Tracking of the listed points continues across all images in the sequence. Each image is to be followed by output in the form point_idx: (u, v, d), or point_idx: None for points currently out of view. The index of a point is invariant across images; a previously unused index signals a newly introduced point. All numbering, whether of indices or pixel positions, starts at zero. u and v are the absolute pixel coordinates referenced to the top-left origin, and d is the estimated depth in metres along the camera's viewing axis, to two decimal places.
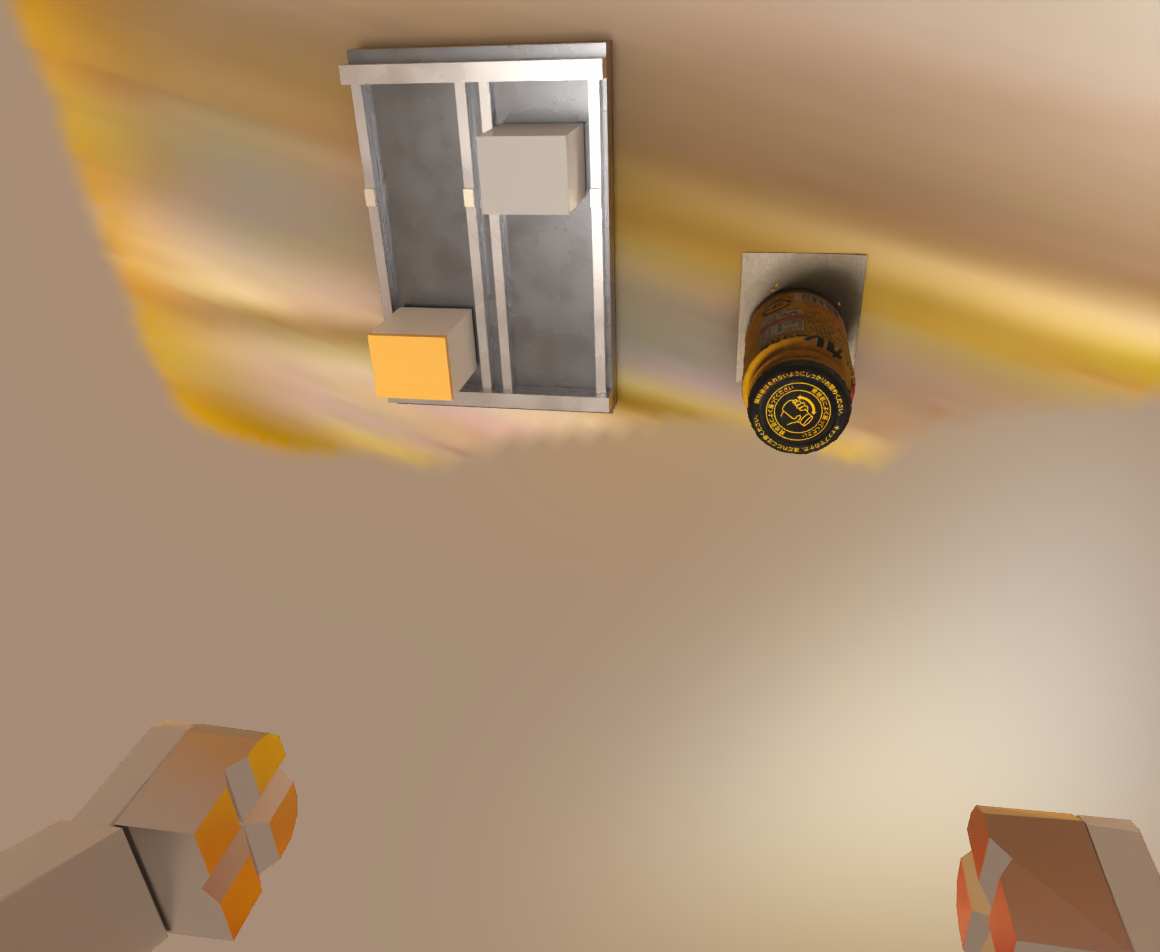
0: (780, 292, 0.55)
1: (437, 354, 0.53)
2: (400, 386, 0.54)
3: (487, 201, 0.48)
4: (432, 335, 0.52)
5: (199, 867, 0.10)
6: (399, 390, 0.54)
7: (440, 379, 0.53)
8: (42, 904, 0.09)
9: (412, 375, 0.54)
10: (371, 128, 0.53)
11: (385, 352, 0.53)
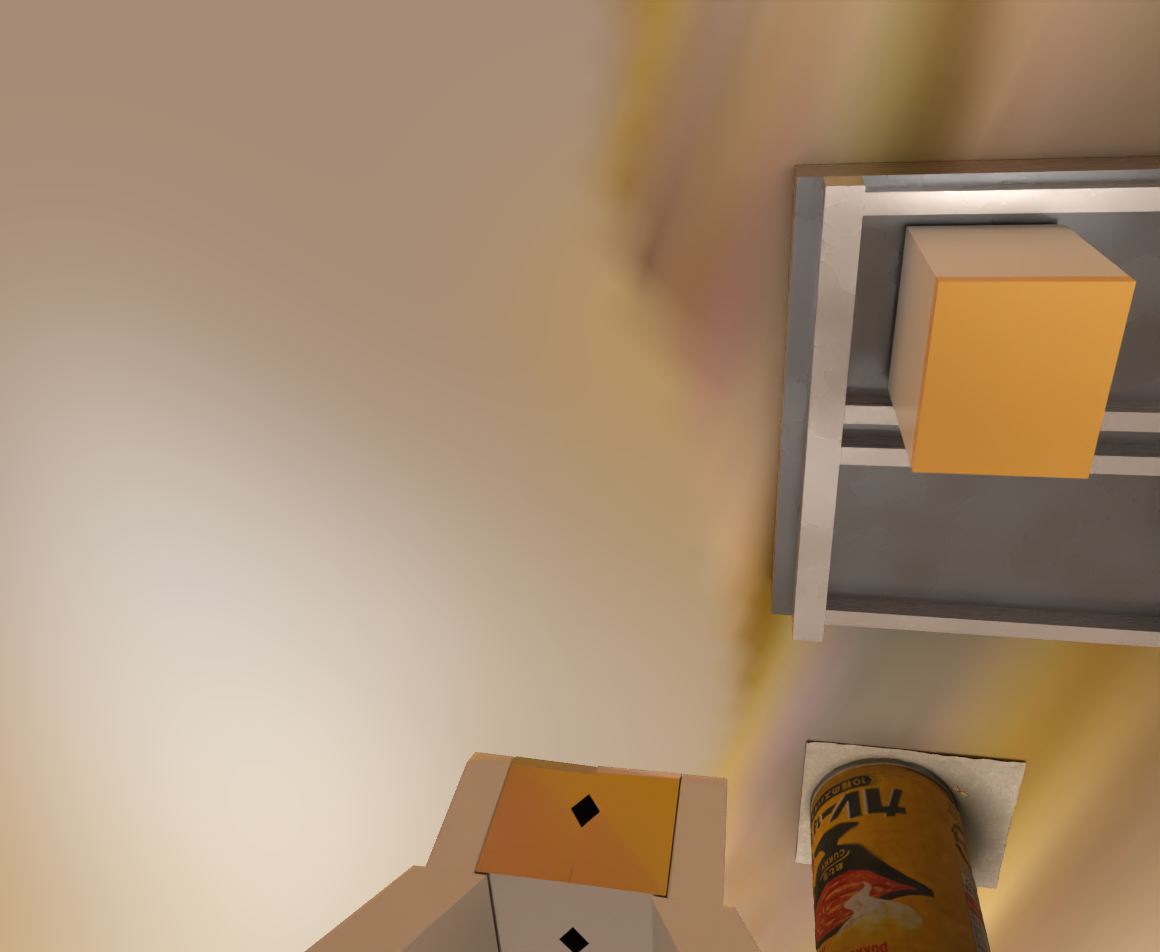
0: (953, 801, 0.37)
1: (1044, 456, 0.21)
2: (965, 351, 0.20)
3: None
4: None
5: (561, 918, 0.09)
6: (953, 346, 0.20)
7: (974, 453, 0.22)
8: None
9: (994, 387, 0.21)
10: None
11: (1073, 324, 0.20)
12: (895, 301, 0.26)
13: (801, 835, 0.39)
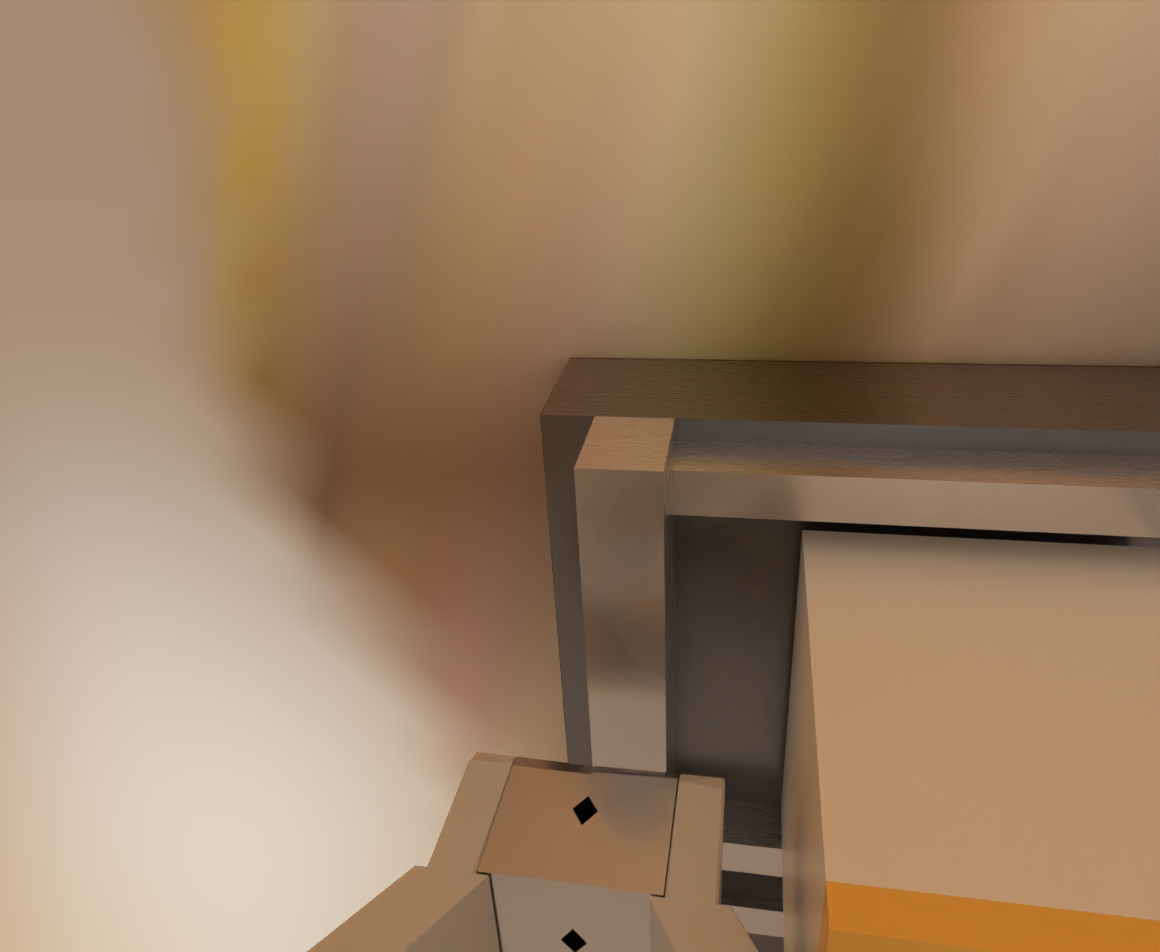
0: None
1: None
2: None
3: None
4: None
5: (563, 918, 0.09)
6: None
7: None
8: None
9: None
10: None
11: None
12: (768, 652, 0.12)
13: None
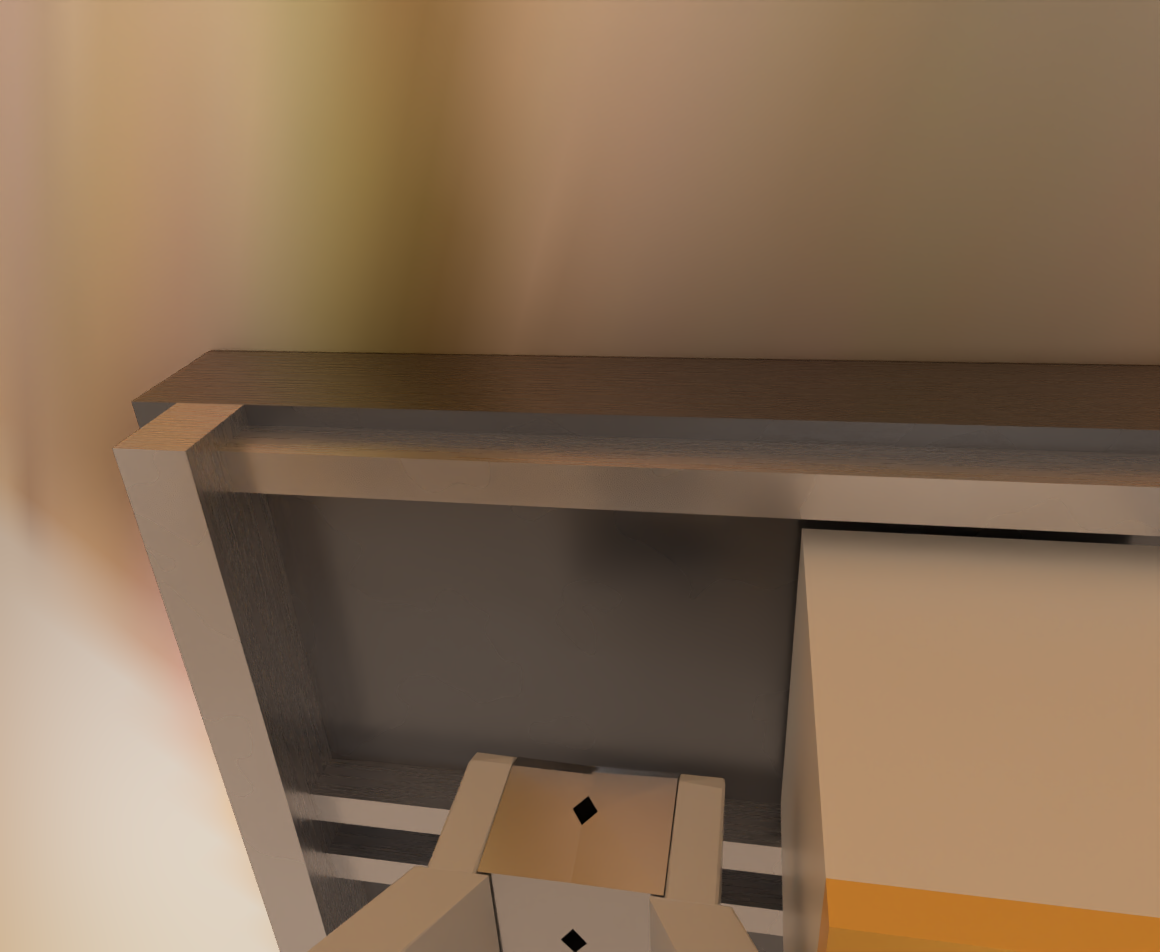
0: None
1: None
2: None
3: None
4: None
5: (563, 917, 0.09)
6: None
7: None
8: None
9: None
10: None
11: None
12: (375, 621, 0.13)
13: None
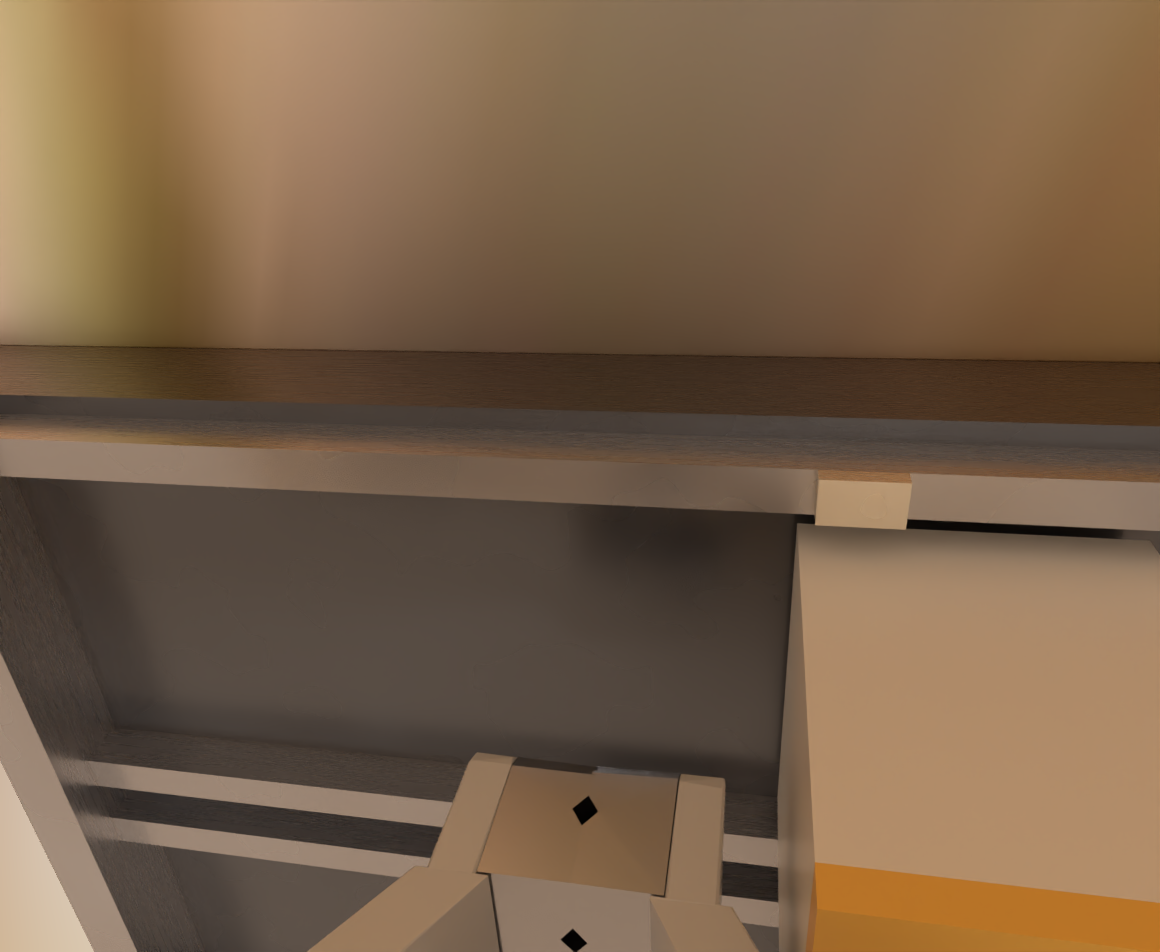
0: None
1: None
2: None
3: None
4: None
5: (563, 918, 0.09)
6: None
7: None
8: None
9: None
10: None
11: None
12: (131, 597, 0.14)
13: None
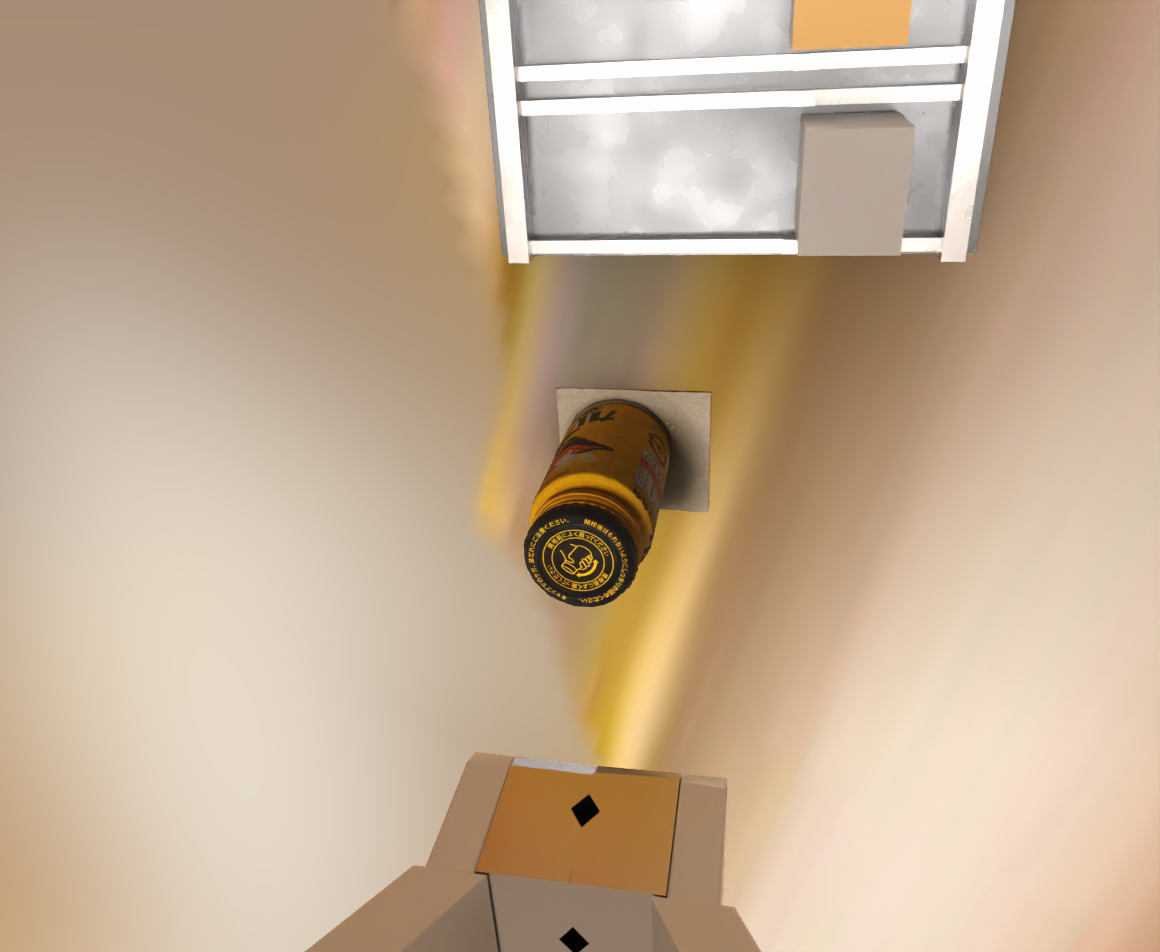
0: (665, 432, 0.49)
1: (877, 29, 0.32)
2: None
3: (823, 139, 0.34)
4: None
5: (561, 917, 0.09)
6: None
7: (831, 31, 0.32)
8: None
9: None
10: None
11: None
12: None
13: None
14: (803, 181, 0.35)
